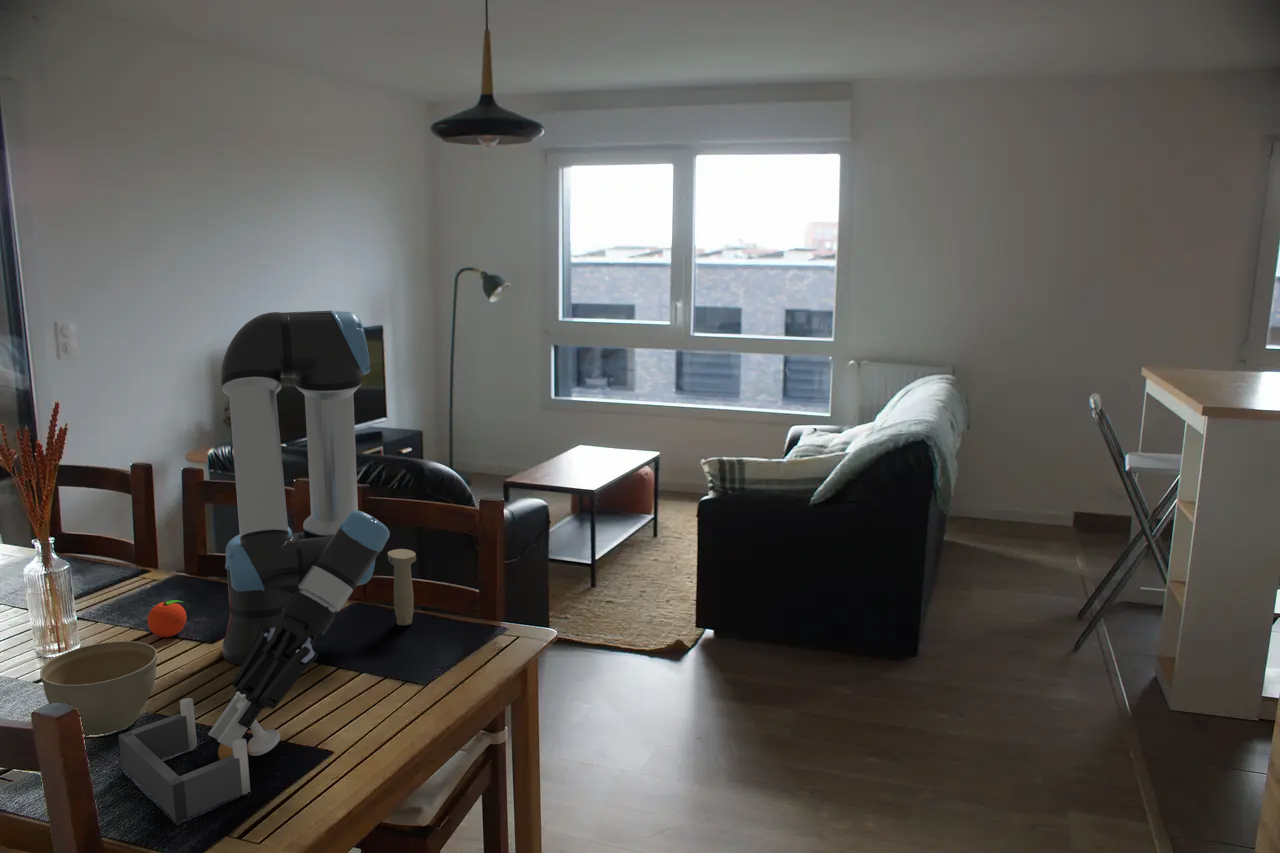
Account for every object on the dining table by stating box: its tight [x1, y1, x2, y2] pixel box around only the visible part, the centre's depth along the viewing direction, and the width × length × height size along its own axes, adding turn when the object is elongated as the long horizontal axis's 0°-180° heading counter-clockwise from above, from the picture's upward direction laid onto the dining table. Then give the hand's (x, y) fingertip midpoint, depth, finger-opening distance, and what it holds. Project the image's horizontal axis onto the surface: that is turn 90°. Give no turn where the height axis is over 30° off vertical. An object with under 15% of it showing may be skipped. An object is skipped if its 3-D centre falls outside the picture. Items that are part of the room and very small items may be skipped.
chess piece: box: [233, 692, 281, 757], centre depth 139 cm, size 5×5×10 cm
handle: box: [387, 548, 417, 627], centre depth 189 cm, size 5×6×15 cm
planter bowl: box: [39, 640, 158, 738], centre depth 148 cm, size 16×16×11 cm
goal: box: [118, 697, 251, 822], centre depth 133 cm, size 10×19×8 cm, turn 48°
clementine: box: [146, 599, 190, 638], centre depth 183 cm, size 8×7×7 cm
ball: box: [217, 737, 243, 760], centre depth 138 cm, size 4×4×4 cm
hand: (220, 741), depth 135 cm, fingers closed on chess piece, 2 cm apart
